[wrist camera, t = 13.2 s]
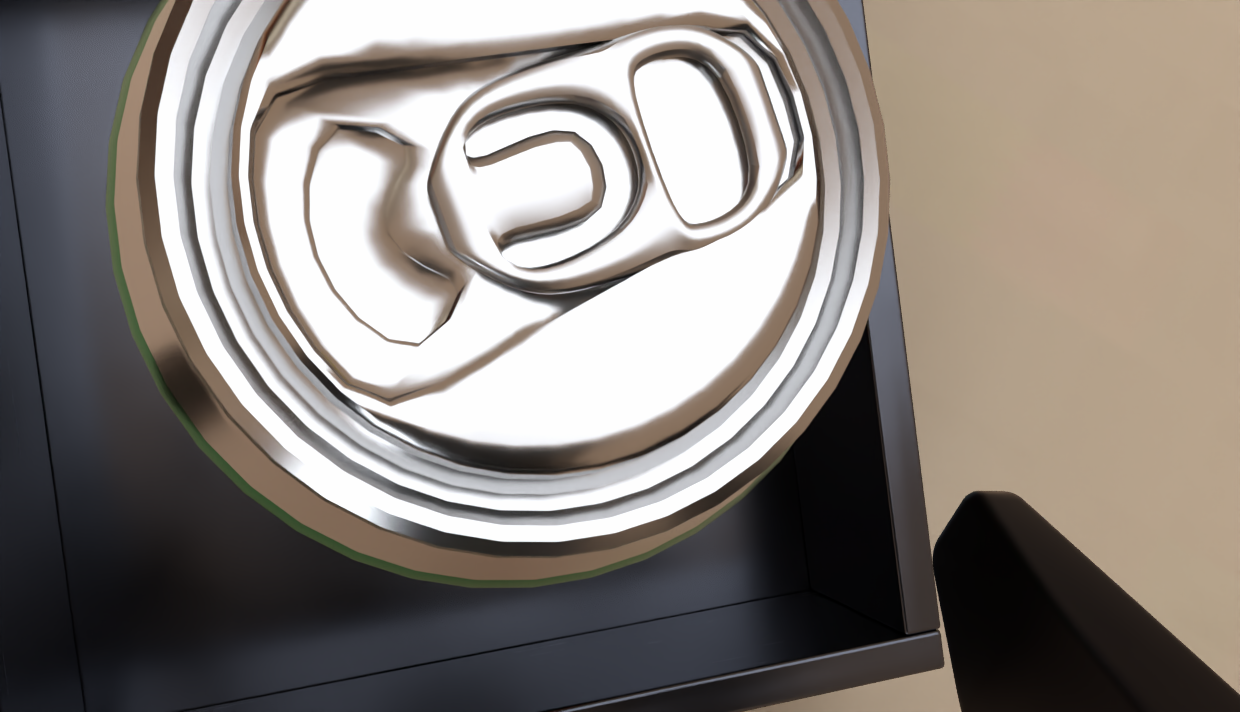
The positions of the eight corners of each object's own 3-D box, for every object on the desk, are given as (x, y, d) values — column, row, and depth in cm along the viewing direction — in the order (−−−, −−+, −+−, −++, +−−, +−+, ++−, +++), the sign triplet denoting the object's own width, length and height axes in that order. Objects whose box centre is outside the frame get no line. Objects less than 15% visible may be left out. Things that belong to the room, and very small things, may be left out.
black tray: (833, 609, 20) (946, 669, 16) (59, 764, 17) (-33, 882, 13) (743, -101, 20) (837, -218, 16) (-56, -77, 17) (-186, -215, 13)
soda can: (218, 207, 17) (-104, -155, 5) (516, 113, 18) (795, -354, 6) (331, 504, 17) (261, 780, 6) (617, 394, 18) (1056, 436, 7)
